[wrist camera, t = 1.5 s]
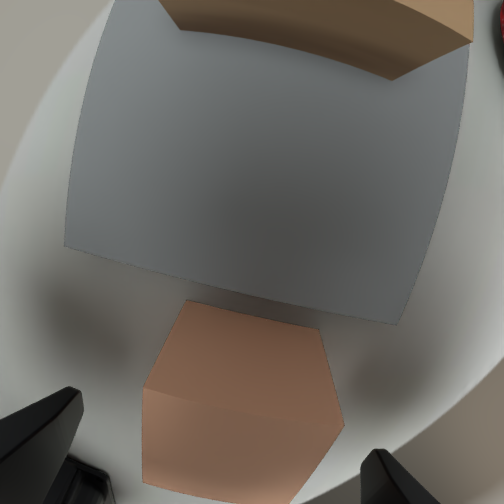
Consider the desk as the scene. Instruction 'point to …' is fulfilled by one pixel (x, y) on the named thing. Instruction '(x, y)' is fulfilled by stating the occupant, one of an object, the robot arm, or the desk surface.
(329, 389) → the terracotta cube
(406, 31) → the walnut base
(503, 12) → the soda can
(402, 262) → the mat
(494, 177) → the desk surface
